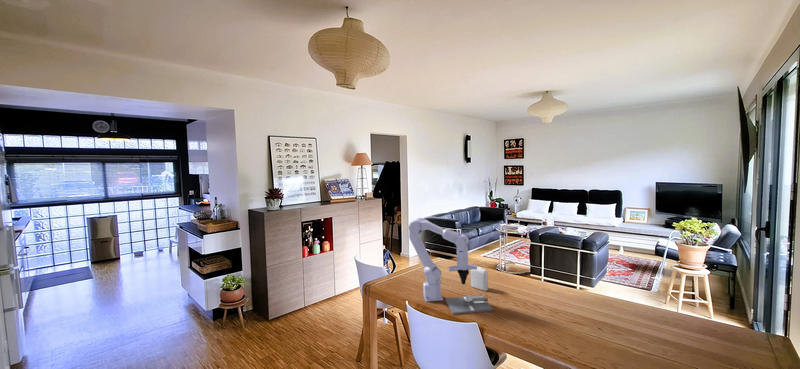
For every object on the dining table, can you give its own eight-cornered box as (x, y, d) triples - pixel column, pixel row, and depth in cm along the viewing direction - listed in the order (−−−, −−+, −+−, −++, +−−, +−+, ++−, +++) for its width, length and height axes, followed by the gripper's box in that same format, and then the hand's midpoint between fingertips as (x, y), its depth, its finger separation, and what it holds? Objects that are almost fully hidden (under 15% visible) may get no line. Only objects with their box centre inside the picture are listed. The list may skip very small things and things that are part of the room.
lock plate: (452, 314, 152) (452, 310, 152) (445, 300, 168) (445, 296, 168) (493, 310, 154) (493, 306, 154) (481, 297, 170) (481, 293, 170)
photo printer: (470, 286, 184) (469, 266, 184) (474, 284, 187) (473, 264, 186) (484, 291, 176) (484, 270, 176) (489, 289, 179) (488, 268, 178)
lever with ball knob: (464, 303, 158) (463, 298, 158) (462, 299, 163) (462, 294, 163) (489, 302, 158) (489, 297, 158) (486, 298, 163) (486, 293, 163)
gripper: (450, 261, 159) (451, 287, 159) (478, 259, 160) (479, 285, 161) (447, 257, 166) (448, 282, 166) (474, 255, 167) (474, 280, 168)
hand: (463, 283), depth 164 cm, fingers closed
